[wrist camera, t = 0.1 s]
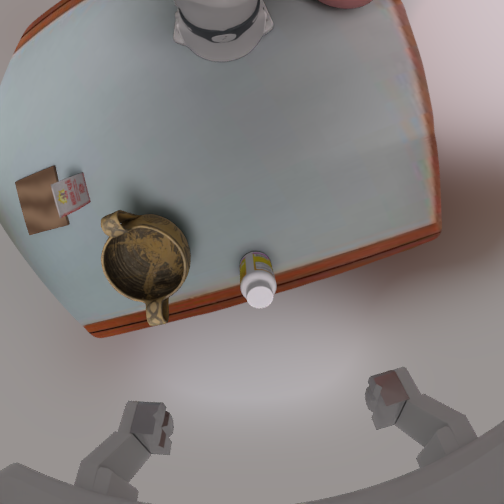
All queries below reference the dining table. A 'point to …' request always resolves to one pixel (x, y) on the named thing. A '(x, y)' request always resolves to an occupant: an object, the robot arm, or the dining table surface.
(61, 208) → the white red-printed box
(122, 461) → the robot arm
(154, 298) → the ceramic bowl
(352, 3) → the balloon
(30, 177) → the walnut board
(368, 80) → the dining table surface
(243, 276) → the supplement bottle
